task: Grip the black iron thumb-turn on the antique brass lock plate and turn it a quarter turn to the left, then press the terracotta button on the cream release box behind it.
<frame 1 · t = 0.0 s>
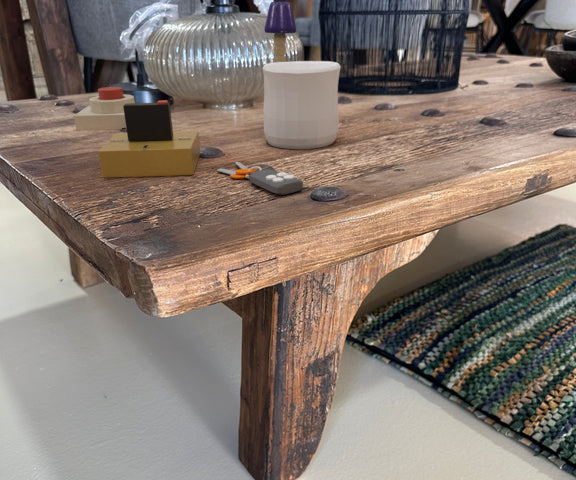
toy lamp: (281, 122, 89), on the table
lock plate: (154, 165, 67), on the table
lock turn: (148, 120, 65), point 5 cm above the table, hinge at 0.0°
release box: (115, 124, 89), on the table
release button: (111, 94, 87), point 4 cm above the table, slide at 0.1 cm
cup: (300, 142, 77), on the table
key chain: (256, 181, 62), on the table
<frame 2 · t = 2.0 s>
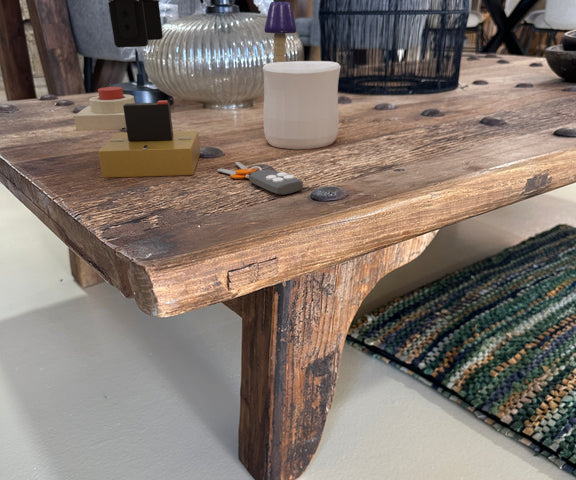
hand: (140, 42, 61), 13 cm above the table, tool pointing down, fingers open, 9 cm apart
nothing on the table moved.
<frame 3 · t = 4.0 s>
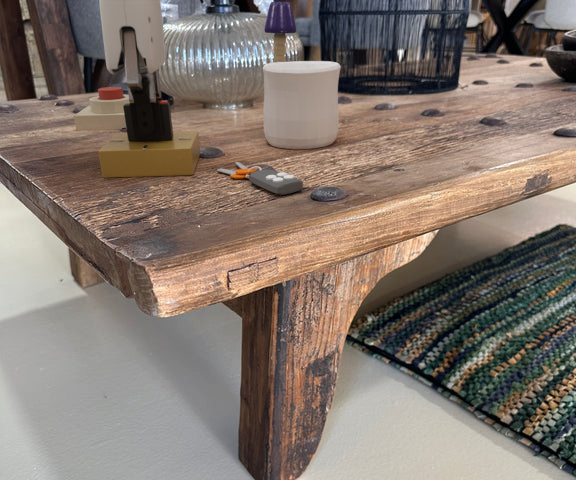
hand: (150, 135, 66), 4 cm above the table, tool pointing down, fingers closed
lock turn: (148, 120, 65), point 5 cm above the table, hinge at 0.0°, touching gripper
everything else where it was.
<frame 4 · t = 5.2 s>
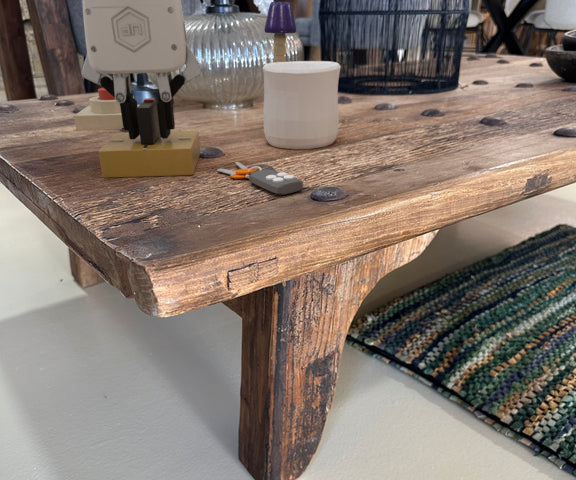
hand: (150, 134, 66), 4 cm above the table, tool pointing down, fingers closed
lock turn: (148, 120, 65), point 5 cm above the table, hinge at 89.4°
everything else where it was.
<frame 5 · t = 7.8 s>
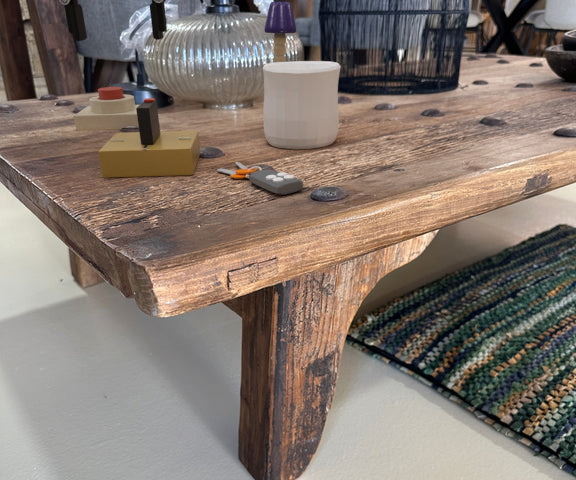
hand: (119, 39, 71), 13 cm above the table, tool pointing down, fingers open, 9 cm apart
nothing on the table moved.
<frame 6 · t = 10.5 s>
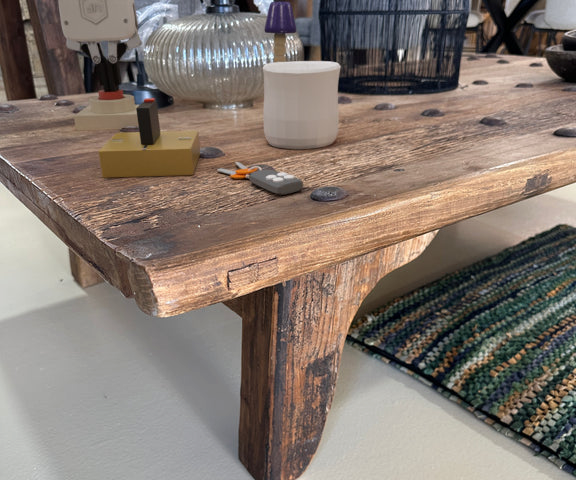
hand: (111, 90, 87), 5 cm above the table, tool pointing down, fingers closed
release button: (111, 96, 87), point 4 cm above the table, slide at -0.2 cm, touching gripper
everything else where it was.
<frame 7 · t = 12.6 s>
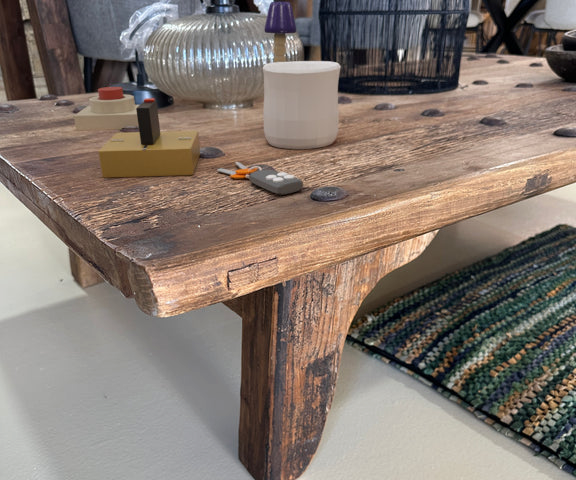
release button: (111, 94, 87), point 4 cm above the table, slide at 0.1 cm
everything else where it was.
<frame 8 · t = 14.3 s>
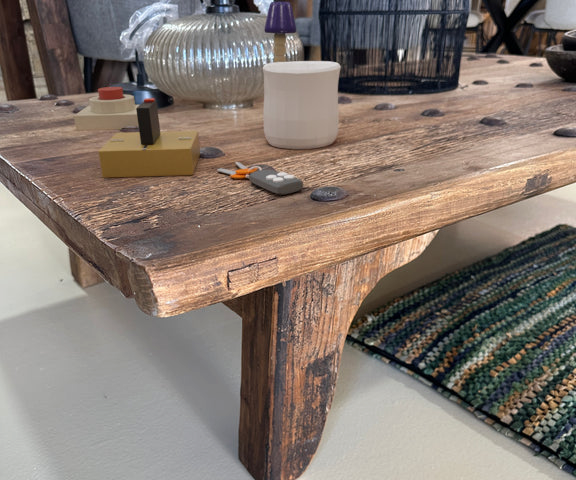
nothing on the table moved.
at the end: lock turn at +89° (first picture: +0°); release button pushed in 1.1 cm at the most during the clip, back to where it started at the end; release button slide at 0.1 cm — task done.
